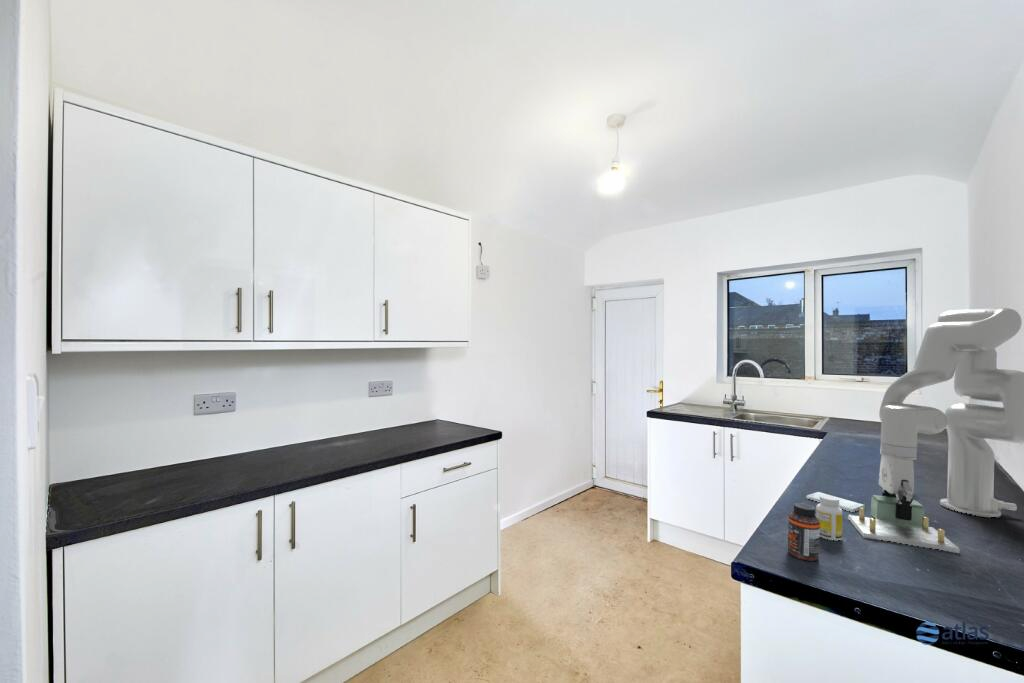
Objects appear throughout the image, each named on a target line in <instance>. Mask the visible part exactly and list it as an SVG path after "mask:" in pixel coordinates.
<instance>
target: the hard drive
mask: <svg viewBox="0 0 1024 683" xmlns="http://www.w3.org/2000/svg"><path fill="white" fill-rule="evenodd" d="M820 495H829V496H833V497H836V498H838V499H839V506H838V507H839V508H841V509H843V510H842V511H845V510H846V512H849V511H850V513H852V512H853V513H856V512H859V508H860V507H861V508H865V509H866V505H865V504H862V503H859V502H856V501H853V500H848V499H845V498H842V497H838V496H835V495H830V494H827V493H824V492H821V491H816V492H814V493H810V494H808V495H806V496H805V499H806V498H807V499H806V500H808V499H811V500H814V501H813V502H815V501H817V502H816V503H818V502H820ZM811 500H810V501H811ZM820 503H821V502H820ZM820 503H819V504H820ZM855 511H856V512H855Z"/></svg>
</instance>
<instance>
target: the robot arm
mask: <svg viewBox="0 0 1024 683" xmlns="http://www.w3.org/2000/svg"><path fill="white" fill-rule="evenodd" d="M1022 324H1023V322H1022V317H1021V315H1020V314H1019V312H1018V311H1016V310H1015V309H1013V308H1009V307H994V308H993V307H990V308H967V309H965V308H964V309H954V310H947V311H945V312H942V313H941V314H940V315H938V317H937V322H936V323H933V324H931V325H929V326H928V327H927V328H926V329H925V331H924V335H923V338H922V341H921V345H920V348H919V350H918V353H917V356H916V359H915V362H914V364H913V367H912V368H911V370H909V371H907V372H906V373H904V374H902V375H901V376H900V377H899V378H897V379H896V380H894V381H893V382H892V383H891V384H890V385H889V386H888V388H887V389H886V391H885V393H884V395H883V397H882V400H881V402H880V408H879V414H878V415H879V419H880V422H881V423H880V448H879V451H880V452H879V455H881V457H880V466H879V472H880V473H878V486H879V487H881V491H882V492H881V496H886V497H893V498H897V502H898V503H896V512H895V517H896V518H897V519H902V520H908V521H911V520H912V505H913V504H912V501H913V500H914V499H913V497H914V491H915V471H914V470H915V467H914V460H915V461H916V460H917V459H918V458H917V454H918V434H919V433H920V434H924V435H925V434H926V435H937V434H939V433H941V432H943V431H945V429H946V432H947V442H948V444H947V445H948V448H947V449H948V450H947V452H948V453H947V455H948V456H947V485H946V486H947V490H946V494H947V495H946V496H947V497H946V498H941V499H940V500H939V504H940V506H942V507H944V508H946V509H948V508H949V509H948V510H951V511H954V510H955V511H954V512H957V511H958V513H961V512H962V514H965V513H967V514H966V515H969V514H972V515H971V516H975V515H976V517H983V518H991V517H996V518H1001V516H1002V512H1001V510H1003V509H1004V510H1007V511H1008V510H1010V511H1014V512H1015V511H1017V509H1018V506H1017V504H1016V503H1013V502H1012V503H1011V502H1005V501H1004V500H998V499H996V498H995V497H994V488H995V487H994V484H995V483H994V482H995V480H994V479H995V453H994V450H993V448H992V447H991V445H990V443H988V442H987V440H995V441H1000V442H1006V443H1014V444H1018V443H1019V444H1020V443H1021V444H1022V443H1024V372H1023V371H1021V370H1016V369H1005V368H1003V369H1001V368H997V367H998V366H997V362H998V360H997V359H998V352H997V350H996V348H998V347H999V346H1001V345H1003V344H1004V343H1005V342H1006V343H1007V341H1009V340H1011V339H1012V338H1014V337H1015V336H1016V335H1017V334H1018V333H1019V331H1020V329H1021V328H1022V327H1021V326H1022ZM953 378H954V380H953V388H954V392H955V394H956V395H957V396H959V397H960V398H963V399H967V400H975V401H983V402H984V401H985V402H994V403H1002V407H1000V406H992V405H991V406H990V405H984V404H975V403H974V404H973V403H955V404H952V405H950V406H948V407H947V409H946V410H945V412H943V411H942V410H940V409H939V408H937V407H931V406H925V405H918V404H912V403H910V404H909V403H904V402H905V400H906V398H907V397H909V395H910V394H912V393H913V392H915V391H917V390H920V389H922V388H926V387H929V386H933V385H936V384H937V385H938V384H940V383H944V382H948V381H949V380H951V379H953ZM986 439H987V440H986ZM902 492H903V493H902Z"/></svg>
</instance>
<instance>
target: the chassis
mask: <svg viewBox="0 0 1024 683" xmlns="http://www.w3.org/2000/svg"><path fill="white" fill-rule="evenodd" d="M847 517H848V518H847V519H848V521H849V520H850V521H849V522H850V523H851V525H853V526H854V528H855V529H856V531H858V533H860V535H861V537H863V538H864V539H870V540H875V539H876V541H877V540H878V541H881V540H883V541H882V542H887V541H891V542H890V543H893V542H897V543H896V544H899V543H902V544H901V545H905V544H908V545H907V546H911V545H913V547H917V546H919V547H918V548H923V547H925V548H924V549H929V548H932V549H931V550H935V549H939V550H938V551H941V550H943V552H947V551H948V552H949V553H954V554H960V548H959V546H957V545H956V544H954V542H952V541H951V540H950V539H948V538H947V537H946V536H945V534H946V530H945V529H943V528H937V529H935V527H932V526H929V522H930V518H929V517H928V516H924V517H922V526H920V525H914V524H907V523H901V522H894V521H887V520H881V519H874V518H873V517H867V516H866V507H865V508H861V507H860V508H859V510H858V515H853V514H848V516H847Z"/></svg>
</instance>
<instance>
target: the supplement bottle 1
mask: <svg viewBox="0 0 1024 683" xmlns="http://www.w3.org/2000/svg"><path fill="white" fill-rule="evenodd" d="M787 522H788V527H787V528H788V529H787V551H788V553H789V555H791V556H793V557H794V558H796V559H799V560H802V561H809V562H814V561H817V560H819V557H820V539H821V537H820V521H819V519H818V518H817V517H816V507H814V506H813V505H811V504H807V503H802V502H795V503H793V511H791V512H789V514H788V520H787Z"/></svg>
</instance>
